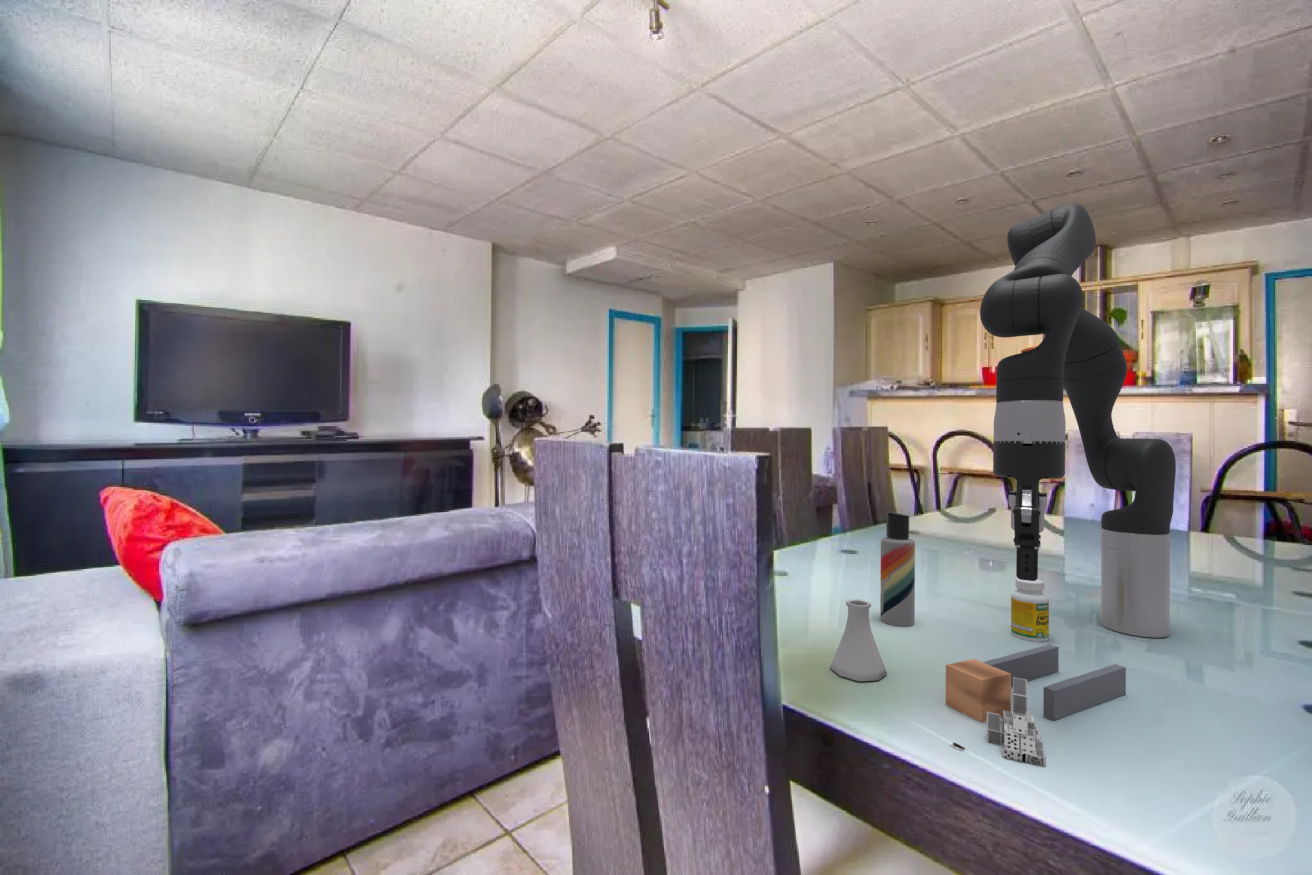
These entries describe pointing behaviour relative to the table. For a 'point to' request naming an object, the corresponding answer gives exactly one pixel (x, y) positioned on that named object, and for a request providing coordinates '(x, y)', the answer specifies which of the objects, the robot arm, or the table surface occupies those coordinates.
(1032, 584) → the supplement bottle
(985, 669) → the terracotta block
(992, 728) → the house of cards
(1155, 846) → the table surface
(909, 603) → the lotion bottle
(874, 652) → the flask
